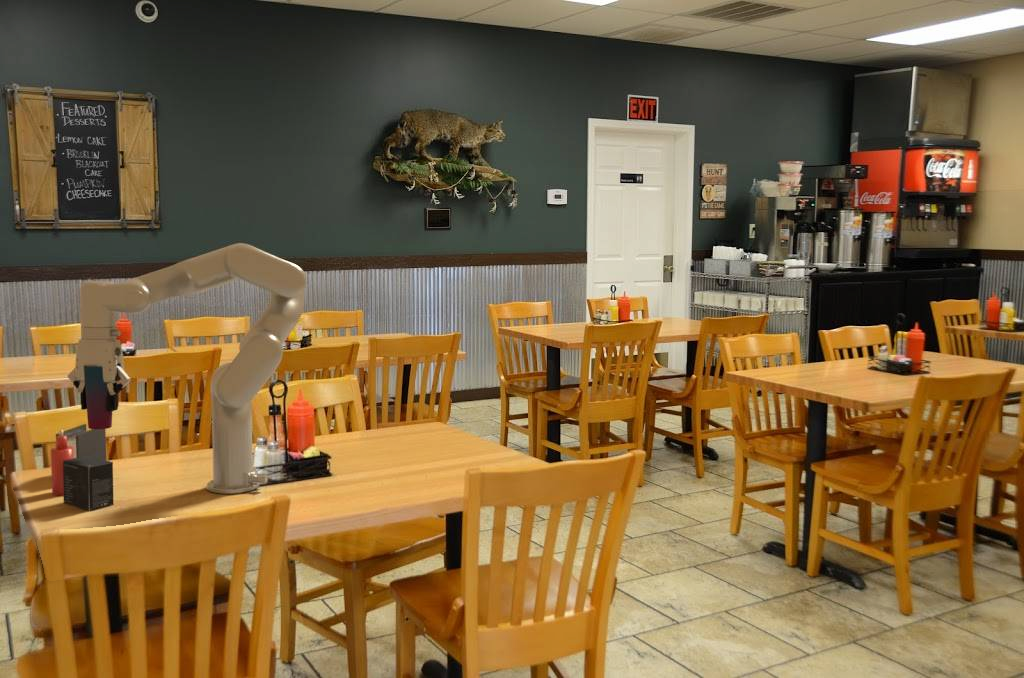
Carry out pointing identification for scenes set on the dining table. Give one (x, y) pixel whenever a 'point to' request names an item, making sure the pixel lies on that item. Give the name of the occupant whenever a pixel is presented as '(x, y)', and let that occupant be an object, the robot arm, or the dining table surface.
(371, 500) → the dining table surface
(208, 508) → the dining table surface
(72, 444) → the napkin holder
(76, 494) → the box
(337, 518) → the dining table surface
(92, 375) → the cup
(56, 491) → the ketchup bottle
